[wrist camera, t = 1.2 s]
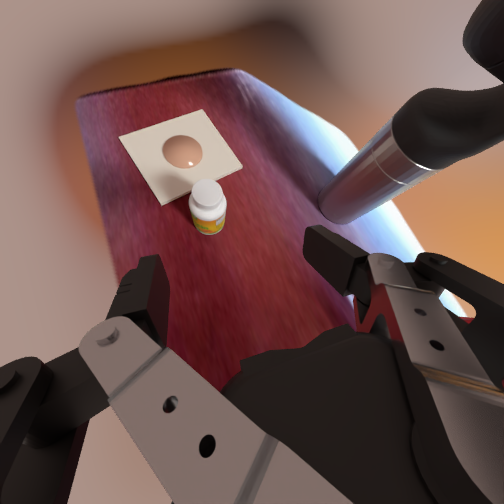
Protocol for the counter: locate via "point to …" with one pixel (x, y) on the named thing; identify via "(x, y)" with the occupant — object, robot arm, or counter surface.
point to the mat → (168, 176)
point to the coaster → (182, 151)
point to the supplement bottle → (207, 206)
